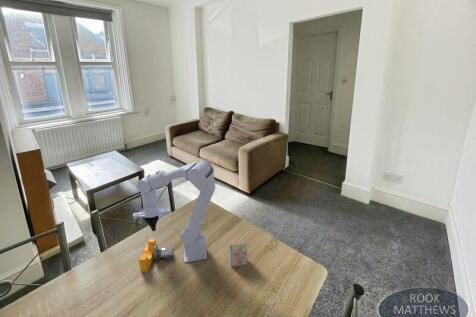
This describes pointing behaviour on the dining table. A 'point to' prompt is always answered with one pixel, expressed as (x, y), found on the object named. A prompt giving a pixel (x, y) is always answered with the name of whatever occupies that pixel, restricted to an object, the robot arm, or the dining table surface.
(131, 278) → the dining table surface
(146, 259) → the pipe clamp
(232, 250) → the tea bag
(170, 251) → the pipe fixture
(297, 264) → the dining table surface
